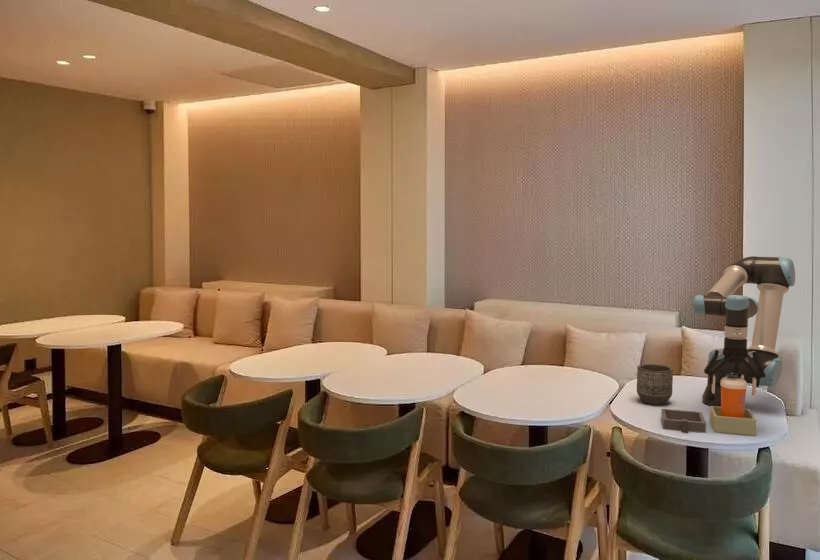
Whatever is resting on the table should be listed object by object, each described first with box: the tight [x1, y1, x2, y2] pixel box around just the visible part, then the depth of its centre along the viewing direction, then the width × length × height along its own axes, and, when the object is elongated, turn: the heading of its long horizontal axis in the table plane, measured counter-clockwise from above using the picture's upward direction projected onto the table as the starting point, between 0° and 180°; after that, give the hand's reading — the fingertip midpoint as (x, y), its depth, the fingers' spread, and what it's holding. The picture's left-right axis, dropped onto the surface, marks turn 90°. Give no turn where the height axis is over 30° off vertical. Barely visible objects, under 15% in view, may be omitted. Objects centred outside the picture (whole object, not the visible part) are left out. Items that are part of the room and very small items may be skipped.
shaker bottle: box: [720, 373, 748, 418], centre depth 239 cm, size 9×9×20 cm
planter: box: [636, 363, 674, 406], centre depth 274 cm, size 14×14×15 cm
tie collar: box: [660, 408, 707, 434], centre depth 243 cm, size 17×14×4 cm
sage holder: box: [709, 405, 757, 437], centre depth 239 cm, size 14×14×6 cm
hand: (733, 394), depth 238 cm, fingers open, 13 cm apart
